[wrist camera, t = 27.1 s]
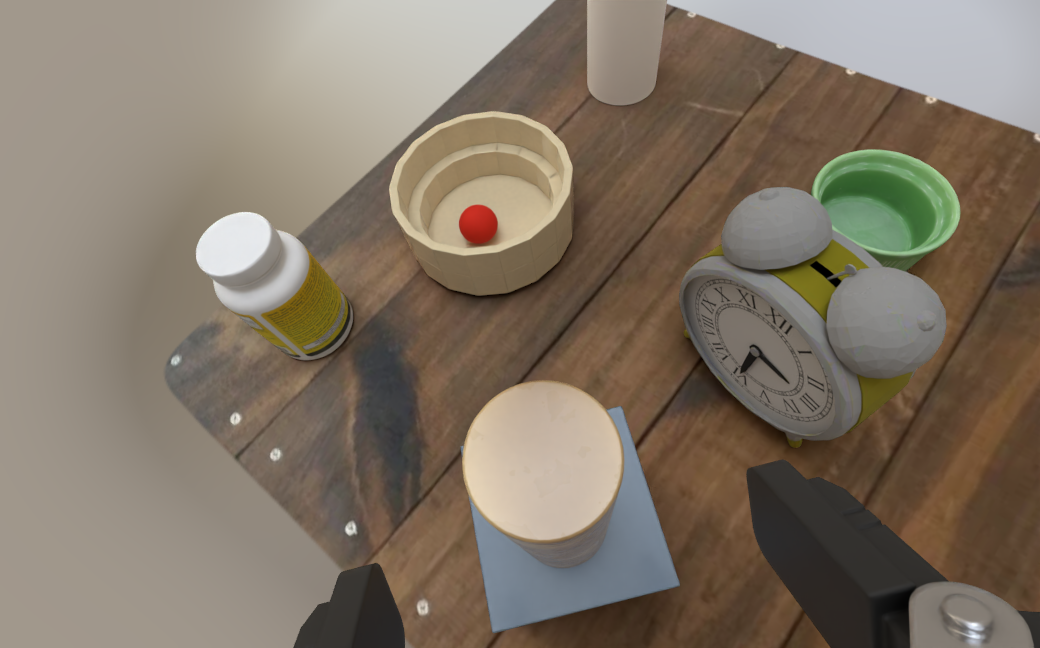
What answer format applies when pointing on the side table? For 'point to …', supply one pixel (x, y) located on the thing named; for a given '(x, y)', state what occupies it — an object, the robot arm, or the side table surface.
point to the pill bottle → (275, 285)
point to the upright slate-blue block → (599, 581)
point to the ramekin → (888, 204)
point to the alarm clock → (806, 318)
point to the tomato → (478, 224)
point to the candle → (623, 48)
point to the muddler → (545, 470)
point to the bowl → (485, 201)
